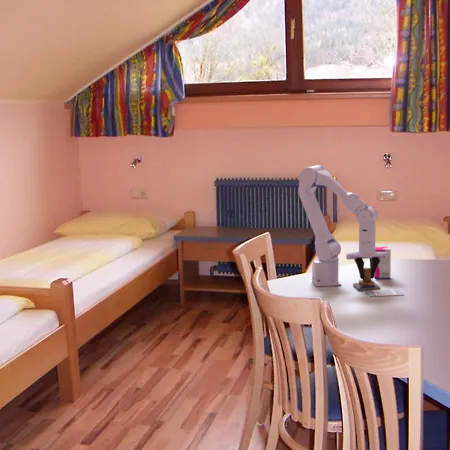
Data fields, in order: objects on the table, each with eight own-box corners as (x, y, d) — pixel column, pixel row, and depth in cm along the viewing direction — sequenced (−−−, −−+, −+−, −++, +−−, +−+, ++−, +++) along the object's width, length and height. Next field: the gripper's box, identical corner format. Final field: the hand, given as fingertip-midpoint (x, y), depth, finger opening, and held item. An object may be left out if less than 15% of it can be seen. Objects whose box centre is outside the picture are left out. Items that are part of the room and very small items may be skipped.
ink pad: (358, 291, 245) (358, 287, 245) (353, 286, 252) (353, 282, 252) (380, 290, 246) (380, 286, 246) (374, 285, 253) (374, 281, 252)
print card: (370, 296, 237) (370, 295, 237) (364, 291, 244) (364, 290, 244) (404, 295, 238) (404, 294, 238) (397, 290, 245) (397, 289, 245)
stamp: (362, 286, 246) (362, 270, 245) (358, 283, 251) (359, 267, 250) (374, 286, 247) (374, 269, 246) (371, 283, 251) (371, 266, 250)
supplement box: (388, 275, 266) (389, 246, 265) (390, 279, 261) (391, 249, 259) (373, 275, 267) (373, 246, 265) (374, 279, 261) (375, 249, 259)
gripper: (349, 244, 242) (349, 281, 244) (390, 242, 243) (390, 280, 245) (344, 240, 248) (344, 276, 251) (384, 238, 249) (384, 275, 252)
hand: (366, 278), depth 248 cm, fingers closed on stamp, 3 cm apart
